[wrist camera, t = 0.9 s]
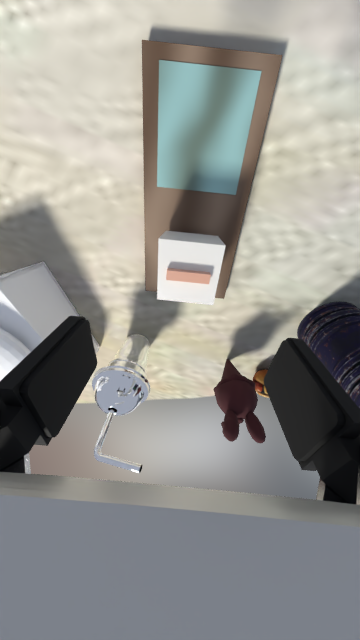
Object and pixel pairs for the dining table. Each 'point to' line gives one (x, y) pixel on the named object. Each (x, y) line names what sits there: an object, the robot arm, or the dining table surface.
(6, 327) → the butter dish
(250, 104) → the post stand
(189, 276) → the white cube with handle
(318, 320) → the storage jar
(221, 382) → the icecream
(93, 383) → the cup with straw
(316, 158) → the dining table surface
